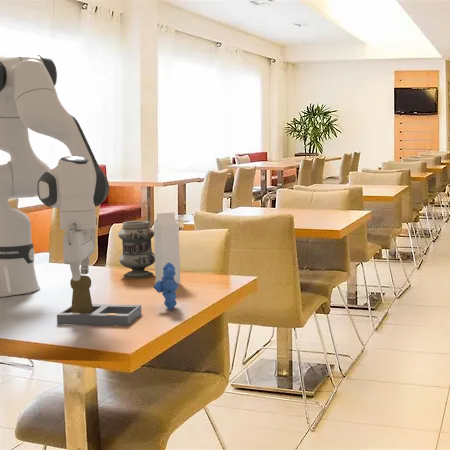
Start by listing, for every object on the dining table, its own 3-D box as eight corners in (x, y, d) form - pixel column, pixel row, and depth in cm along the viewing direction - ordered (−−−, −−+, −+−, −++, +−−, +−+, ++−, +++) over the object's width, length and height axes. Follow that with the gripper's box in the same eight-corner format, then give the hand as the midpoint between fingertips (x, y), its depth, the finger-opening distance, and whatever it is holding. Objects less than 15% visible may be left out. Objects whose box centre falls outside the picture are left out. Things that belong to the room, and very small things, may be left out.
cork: (89, 322, 186) (87, 278, 185) (66, 321, 187) (64, 278, 186) (98, 316, 192) (96, 274, 191) (75, 315, 193) (74, 273, 192)
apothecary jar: (137, 271, 256) (135, 219, 254) (164, 274, 249) (162, 220, 247) (112, 277, 247) (109, 222, 244) (139, 280, 240) (137, 224, 237)
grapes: (154, 304, 205) (152, 260, 203) (178, 303, 205) (177, 259, 204) (154, 313, 193) (152, 267, 192) (180, 312, 194) (179, 266, 193)
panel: (57, 324, 185) (56, 314, 184) (74, 313, 196) (74, 303, 196) (128, 325, 182) (127, 315, 181) (141, 314, 193) (141, 304, 193)
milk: (155, 283, 235) (152, 212, 233) (173, 280, 238) (170, 211, 236) (162, 286, 230) (159, 214, 227) (181, 283, 233) (178, 212, 230)
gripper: (81, 225, 176) (84, 284, 178) (98, 217, 197) (101, 270, 198) (55, 226, 176) (58, 284, 178) (74, 218, 197) (77, 270, 198)
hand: (80, 276), depth 188 cm, fingers open, 8 cm apart
